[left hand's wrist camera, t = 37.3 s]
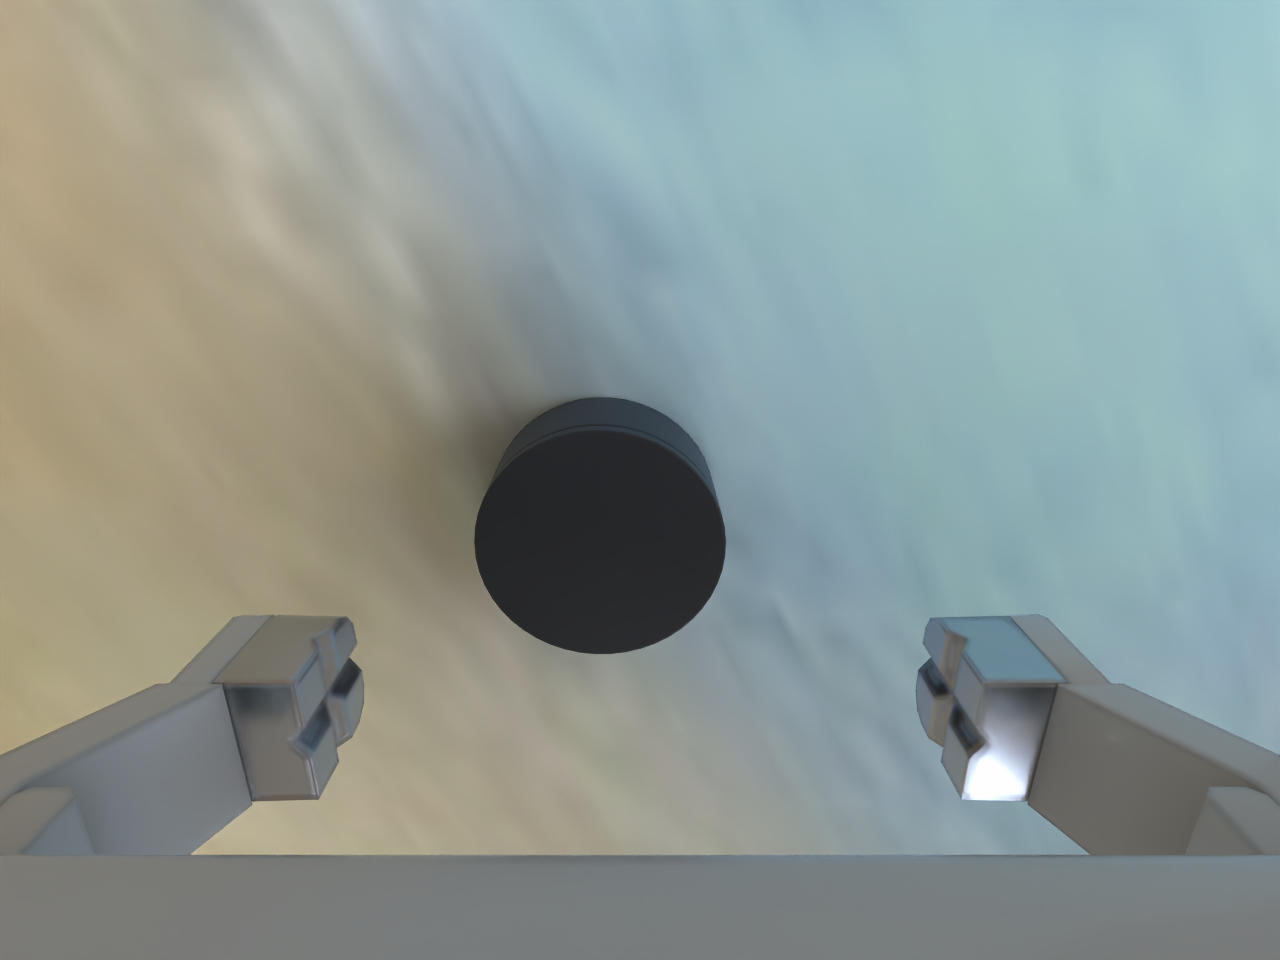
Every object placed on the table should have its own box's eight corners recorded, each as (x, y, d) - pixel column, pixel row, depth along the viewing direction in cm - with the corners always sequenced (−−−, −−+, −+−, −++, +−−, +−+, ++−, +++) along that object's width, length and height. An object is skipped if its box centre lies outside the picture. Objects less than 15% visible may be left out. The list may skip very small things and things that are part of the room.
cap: (454, 530, 15) (429, 581, 13) (568, 351, 14) (558, 379, 12) (634, 630, 16) (635, 692, 14) (757, 474, 15) (777, 517, 13)
